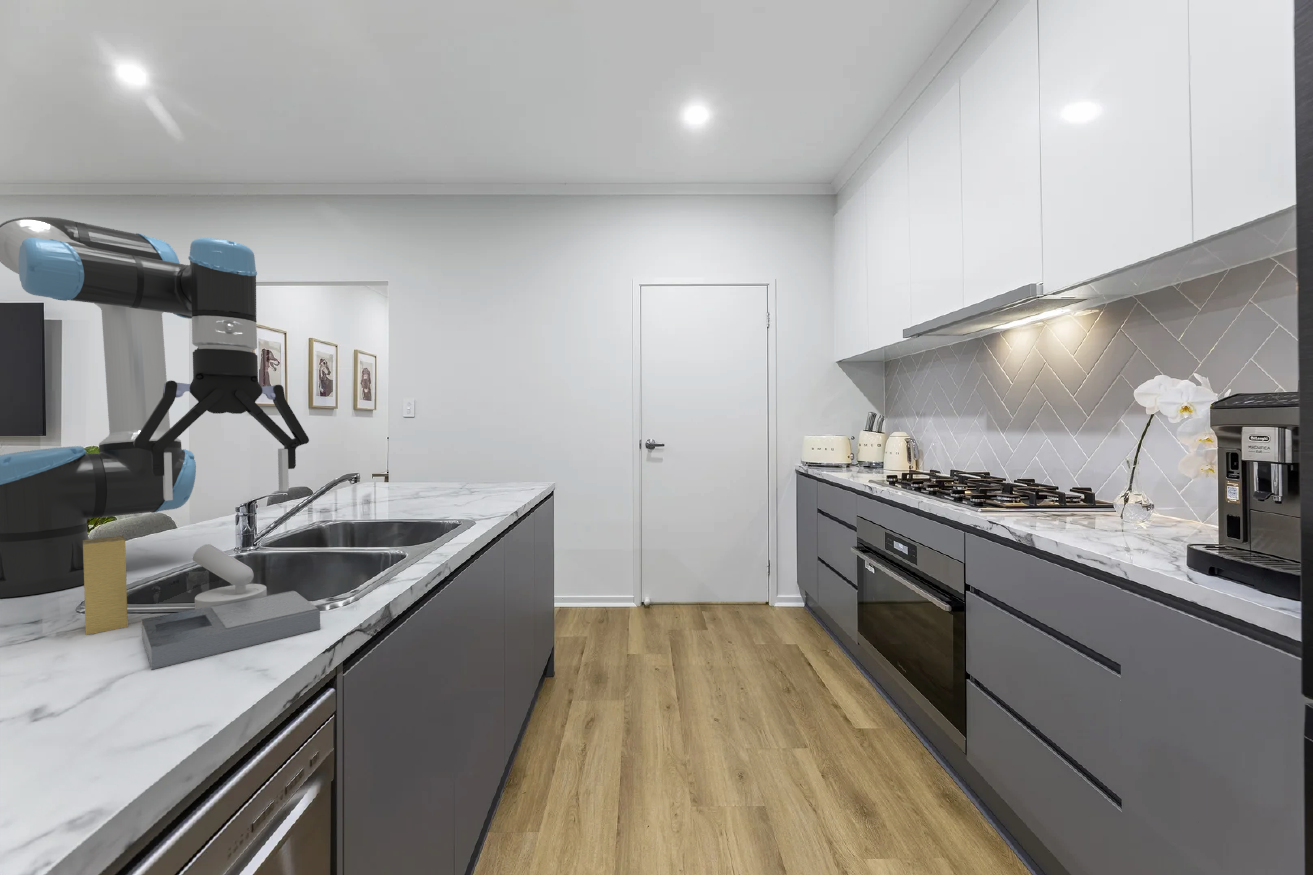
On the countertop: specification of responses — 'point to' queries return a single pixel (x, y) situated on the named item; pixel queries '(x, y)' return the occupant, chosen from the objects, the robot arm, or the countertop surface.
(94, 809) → the countertop surface
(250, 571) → the white tilted spotlight lamp
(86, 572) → the yellow block
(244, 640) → the block
